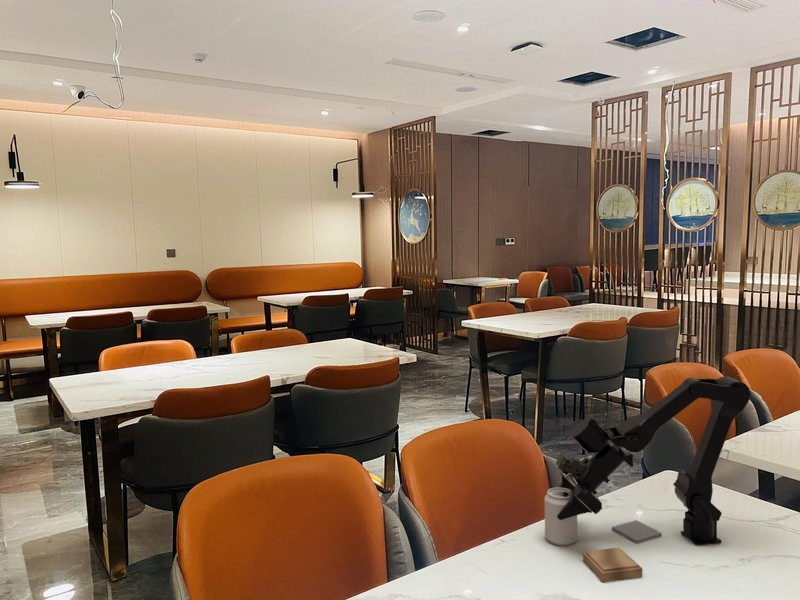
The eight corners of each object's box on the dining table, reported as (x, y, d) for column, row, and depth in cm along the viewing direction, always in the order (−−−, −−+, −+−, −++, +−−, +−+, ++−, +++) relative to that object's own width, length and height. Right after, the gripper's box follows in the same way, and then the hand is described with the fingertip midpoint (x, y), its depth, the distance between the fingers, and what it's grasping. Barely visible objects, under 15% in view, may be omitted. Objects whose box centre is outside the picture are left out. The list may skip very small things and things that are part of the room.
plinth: (620, 556, 139) (620, 545, 139) (642, 577, 130) (642, 566, 130) (583, 561, 138) (582, 550, 137) (602, 582, 129) (602, 571, 128)
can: (578, 548, 143) (578, 498, 142) (545, 546, 145) (544, 497, 144) (576, 533, 151) (575, 486, 150) (544, 531, 152) (543, 484, 151)
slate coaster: (636, 523, 155) (636, 520, 155) (661, 536, 148) (661, 532, 148) (611, 530, 152) (611, 526, 152) (636, 543, 145) (636, 540, 145)
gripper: (567, 430, 155) (524, 474, 156) (587, 455, 136) (537, 504, 138) (599, 460, 155) (556, 503, 157) (623, 489, 137) (573, 538, 138)
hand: (554, 511), depth 147 cm, fingers open, 8 cm apart
